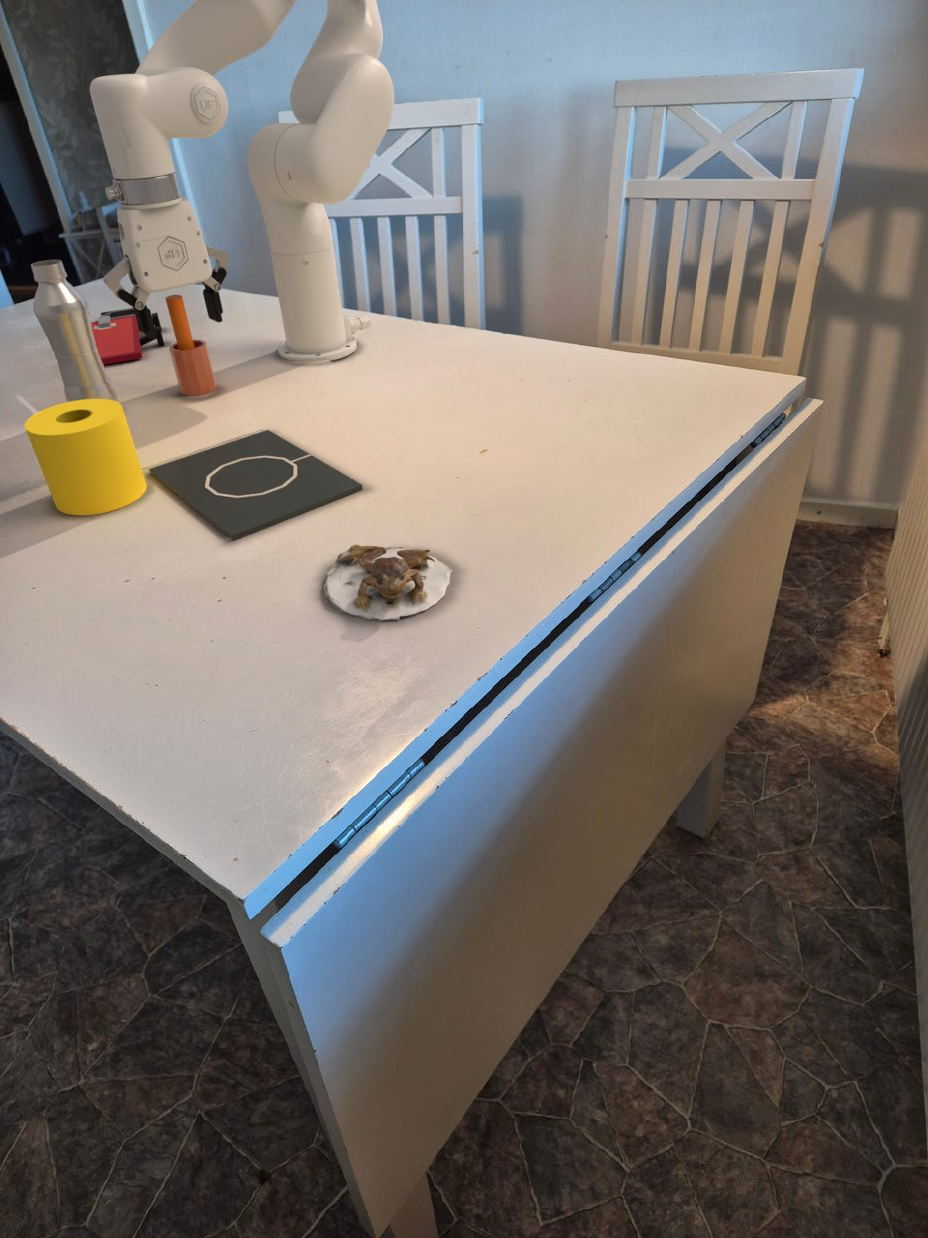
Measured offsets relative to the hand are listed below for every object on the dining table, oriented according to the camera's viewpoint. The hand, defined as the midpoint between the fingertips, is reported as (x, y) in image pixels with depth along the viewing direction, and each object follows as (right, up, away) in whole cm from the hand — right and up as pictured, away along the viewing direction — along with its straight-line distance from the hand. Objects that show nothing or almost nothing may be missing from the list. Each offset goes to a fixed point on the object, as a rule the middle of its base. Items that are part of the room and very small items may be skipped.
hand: (184, 328), depth 113 cm
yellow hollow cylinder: (-3, -26, -20) cm, 33 cm away
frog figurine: (+32, -38, -38) cm, 62 cm away
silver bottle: (-12, -12, +1) cm, 17 cm away
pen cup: (0, -8, +5) cm, 9 cm away
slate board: (+15, -25, -19) cm, 34 cm away
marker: (0, -7, +5) cm, 9 cm away
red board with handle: (-22, +9, +30) cm, 38 cm away
